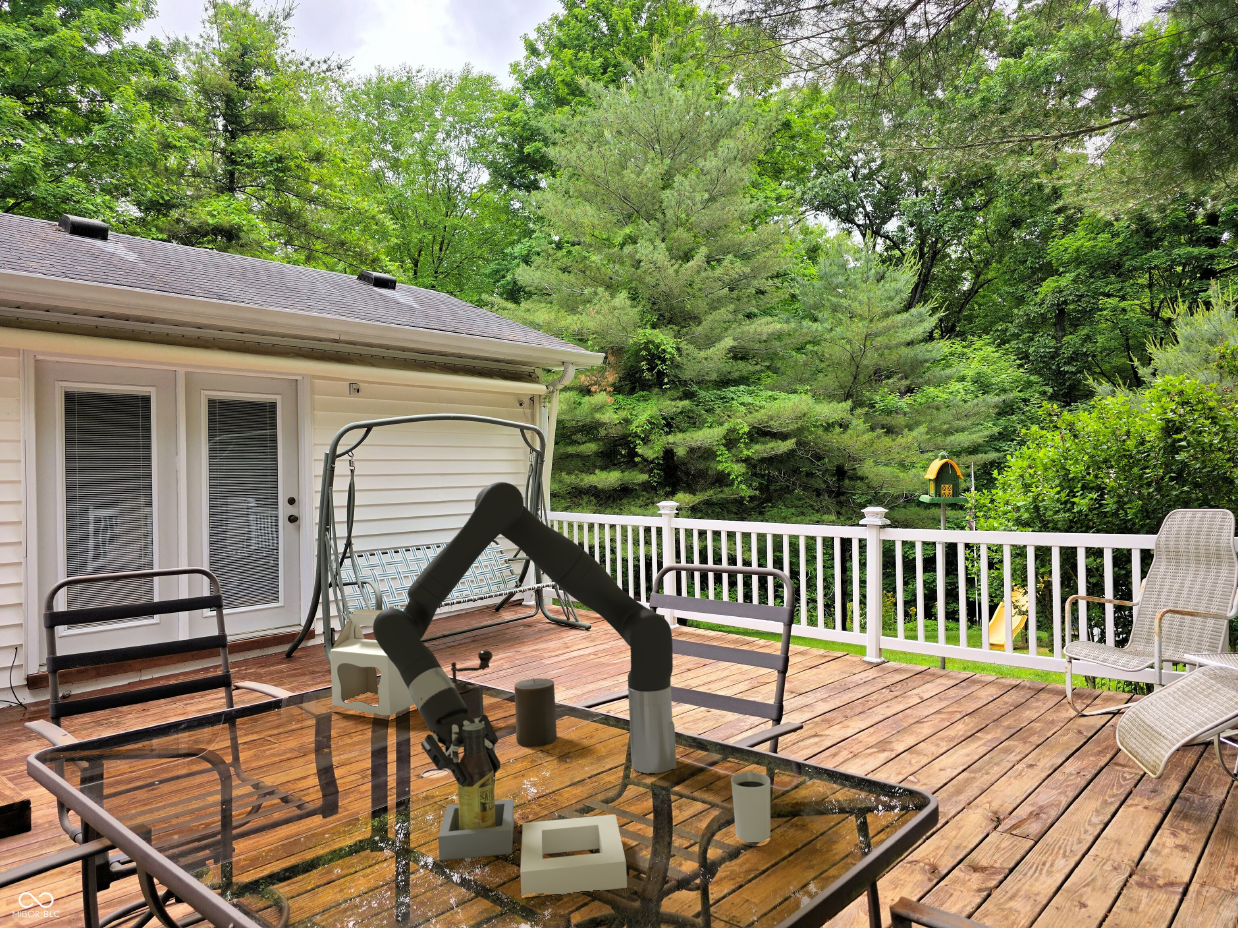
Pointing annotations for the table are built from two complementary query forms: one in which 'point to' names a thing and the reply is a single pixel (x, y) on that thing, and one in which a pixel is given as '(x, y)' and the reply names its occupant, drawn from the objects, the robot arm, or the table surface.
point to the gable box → (365, 669)
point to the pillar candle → (535, 712)
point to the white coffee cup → (751, 806)
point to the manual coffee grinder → (472, 693)
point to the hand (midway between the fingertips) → (482, 776)
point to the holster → (476, 834)
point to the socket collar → (572, 870)
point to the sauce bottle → (476, 781)
